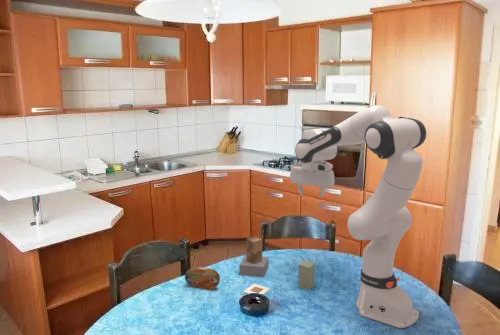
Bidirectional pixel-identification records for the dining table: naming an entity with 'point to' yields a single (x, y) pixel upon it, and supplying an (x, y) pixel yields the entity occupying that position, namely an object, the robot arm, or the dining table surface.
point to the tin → (202, 278)
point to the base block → (253, 267)
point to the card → (256, 289)
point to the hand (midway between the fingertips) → (311, 194)
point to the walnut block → (254, 249)
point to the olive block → (306, 275)
